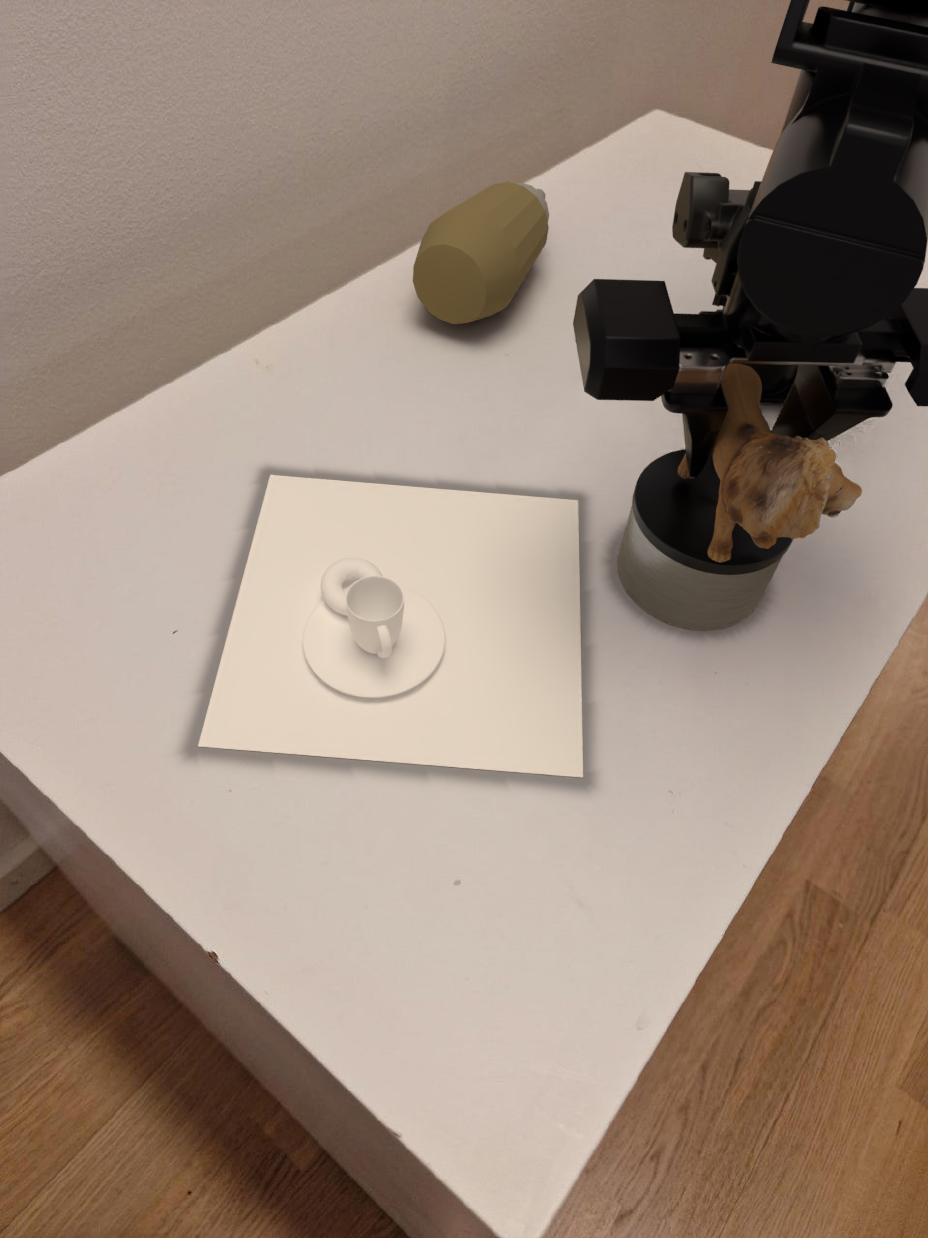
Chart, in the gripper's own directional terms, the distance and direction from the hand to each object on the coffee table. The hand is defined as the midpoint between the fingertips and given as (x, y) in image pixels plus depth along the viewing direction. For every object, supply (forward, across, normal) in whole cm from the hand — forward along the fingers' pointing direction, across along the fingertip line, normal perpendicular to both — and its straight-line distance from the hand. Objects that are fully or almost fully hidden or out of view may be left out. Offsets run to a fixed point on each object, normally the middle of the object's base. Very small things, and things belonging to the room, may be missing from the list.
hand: (728, 471), depth 50 cm
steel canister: (+8, 0, 0) cm, 8 cm away
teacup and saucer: (+8, +17, +3) cm, 19 cm away
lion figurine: (+2, -1, +1) cm, 2 cm away
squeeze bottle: (+4, +15, -22) cm, 27 cm away
